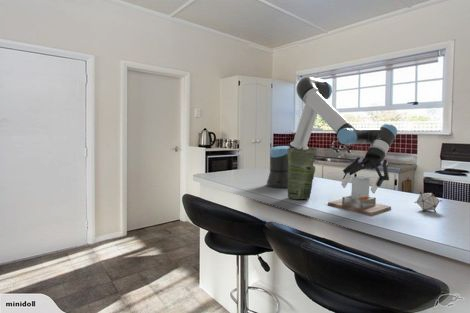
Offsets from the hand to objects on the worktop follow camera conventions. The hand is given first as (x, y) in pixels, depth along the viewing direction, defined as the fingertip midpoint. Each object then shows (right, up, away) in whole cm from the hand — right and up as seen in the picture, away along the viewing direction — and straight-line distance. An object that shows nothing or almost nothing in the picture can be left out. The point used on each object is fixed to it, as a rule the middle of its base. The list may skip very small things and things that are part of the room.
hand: (357, 188), depth 124 cm
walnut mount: (+1, -8, +2) cm, 9 cm away
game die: (+28, -9, -3) cm, 29 cm away
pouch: (-20, -7, +18) cm, 28 cm away
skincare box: (+2, -7, +2) cm, 8 cm away
